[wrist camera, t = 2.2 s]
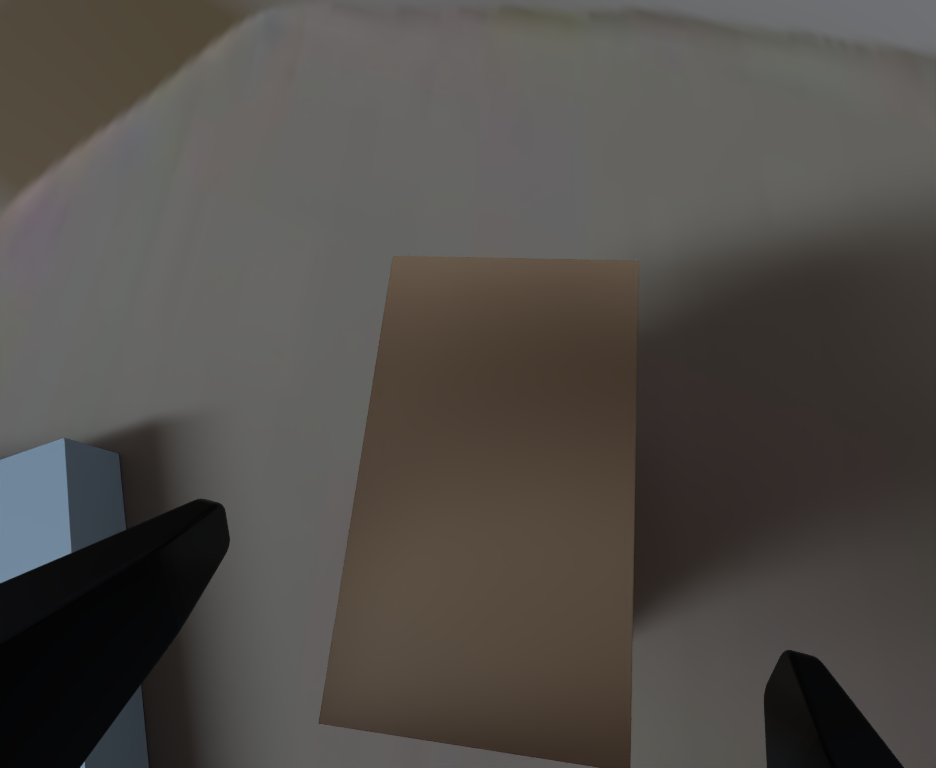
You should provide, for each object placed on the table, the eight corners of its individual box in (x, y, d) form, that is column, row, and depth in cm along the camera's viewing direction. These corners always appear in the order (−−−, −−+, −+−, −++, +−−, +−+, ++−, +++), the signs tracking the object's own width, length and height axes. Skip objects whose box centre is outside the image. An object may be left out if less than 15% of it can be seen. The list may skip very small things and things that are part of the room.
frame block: (587, 660, 17) (634, 773, 7) (448, 643, 18) (314, 722, 8) (596, 425, 19) (642, 260, 9) (471, 417, 20) (390, 256, 10)
